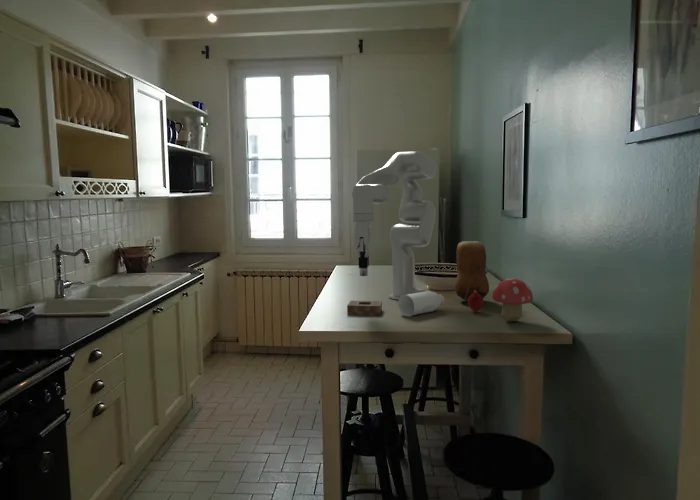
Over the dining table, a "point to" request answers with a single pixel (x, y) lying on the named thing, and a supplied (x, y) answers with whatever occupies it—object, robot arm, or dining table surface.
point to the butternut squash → (471, 270)
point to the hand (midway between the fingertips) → (363, 266)
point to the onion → (475, 301)
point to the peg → (364, 269)
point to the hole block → (364, 308)
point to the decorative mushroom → (512, 297)
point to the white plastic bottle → (419, 303)
